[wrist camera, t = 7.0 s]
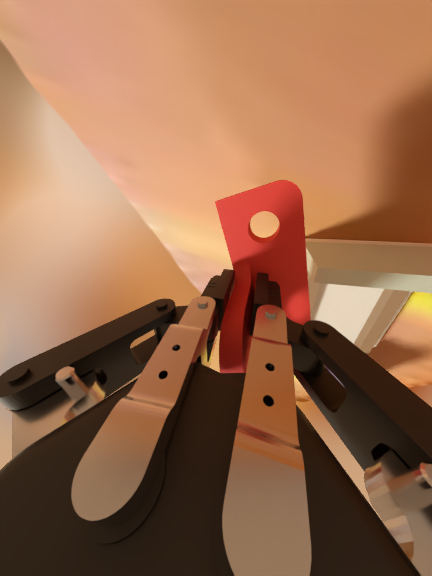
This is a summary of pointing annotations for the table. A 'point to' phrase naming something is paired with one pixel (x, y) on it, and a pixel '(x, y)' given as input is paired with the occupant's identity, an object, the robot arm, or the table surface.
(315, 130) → the table surface
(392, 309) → the cleat board
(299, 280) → the bracket
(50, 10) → the table surface
